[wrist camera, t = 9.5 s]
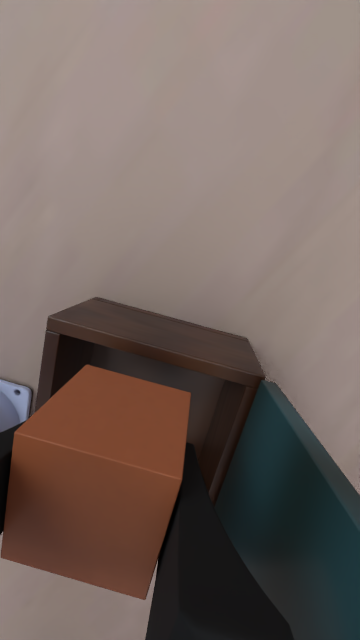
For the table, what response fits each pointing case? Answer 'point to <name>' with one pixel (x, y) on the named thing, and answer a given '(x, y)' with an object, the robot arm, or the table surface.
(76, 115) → the table surface
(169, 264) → the table surface
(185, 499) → the robot arm
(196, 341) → the toy box
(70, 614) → the table surface
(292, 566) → the lid
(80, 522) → the block
